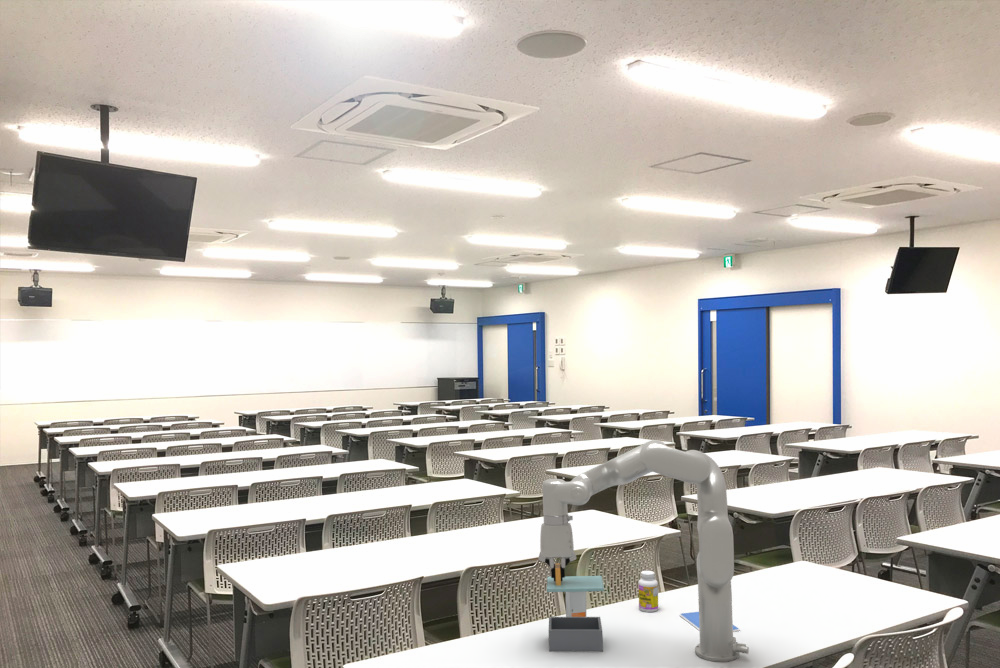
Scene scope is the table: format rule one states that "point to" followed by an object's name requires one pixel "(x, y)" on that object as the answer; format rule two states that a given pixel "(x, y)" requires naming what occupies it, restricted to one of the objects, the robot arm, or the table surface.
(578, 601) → the skincare box
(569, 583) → the lid
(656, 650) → the table surface
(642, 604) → the supplement bottle
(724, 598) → the robot arm
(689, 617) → the tablet computer
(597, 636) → the tub
